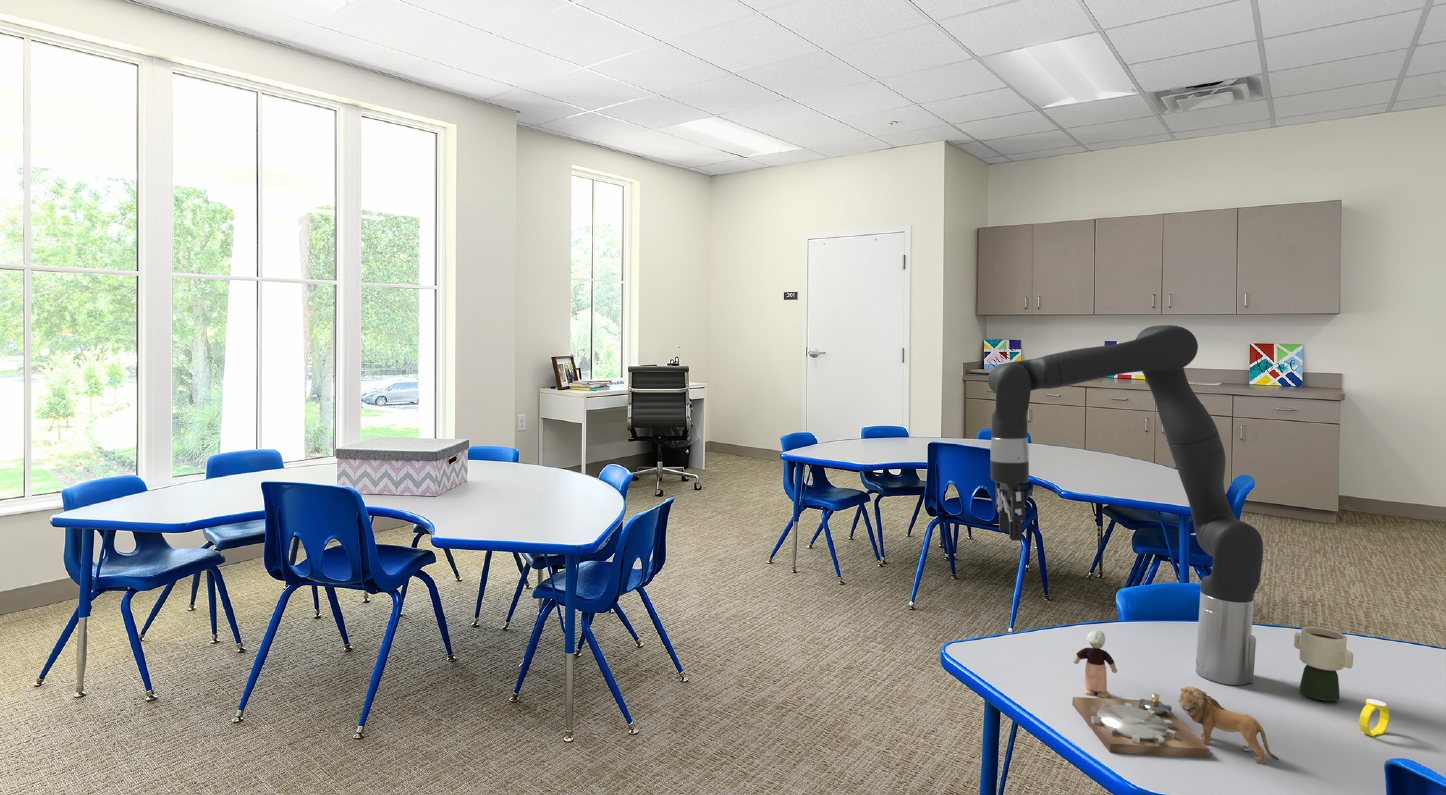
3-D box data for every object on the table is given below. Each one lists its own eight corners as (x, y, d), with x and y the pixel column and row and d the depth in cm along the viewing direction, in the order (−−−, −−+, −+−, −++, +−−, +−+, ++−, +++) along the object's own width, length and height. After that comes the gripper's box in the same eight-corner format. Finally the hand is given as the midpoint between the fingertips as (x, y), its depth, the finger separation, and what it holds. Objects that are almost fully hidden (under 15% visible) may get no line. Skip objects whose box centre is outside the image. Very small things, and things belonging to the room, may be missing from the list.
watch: (1374, 729, 139) (1378, 697, 138) (1392, 736, 136) (1396, 704, 136) (1353, 732, 137) (1357, 699, 136) (1370, 740, 134) (1374, 706, 134)
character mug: (1362, 708, 146) (1367, 641, 145) (1335, 712, 144) (1340, 645, 143) (1304, 683, 157) (1309, 621, 156) (1278, 687, 155) (1282, 624, 154)
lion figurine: (1174, 739, 134) (1177, 689, 133) (1179, 727, 138) (1182, 679, 137) (1277, 770, 124) (1281, 716, 124) (1280, 756, 129) (1283, 704, 128)
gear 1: (1153, 709, 141) (1153, 704, 141) (1190, 746, 128) (1190, 740, 128) (1078, 705, 142) (1078, 700, 142) (1107, 742, 129) (1107, 736, 129)
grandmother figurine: (1113, 692, 152) (1116, 629, 151) (1116, 700, 148) (1119, 636, 147) (1071, 685, 154) (1074, 624, 153) (1073, 694, 150) (1076, 631, 149)
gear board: (1159, 708, 145) (1160, 701, 145) (1208, 757, 128) (1209, 749, 128) (1072, 704, 146) (1072, 696, 146) (1109, 752, 129) (1110, 743, 129)
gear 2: (1163, 704, 143) (1164, 689, 143) (1177, 718, 138) (1178, 702, 138) (1133, 703, 144) (1133, 687, 143) (1145, 716, 139) (1146, 700, 138)
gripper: (1038, 463, 153) (1038, 543, 153) (1018, 454, 167) (1019, 528, 168) (999, 463, 153) (999, 543, 154) (983, 454, 168) (983, 528, 168)
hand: (1009, 535), depth 161 cm, fingers open, 8 cm apart
